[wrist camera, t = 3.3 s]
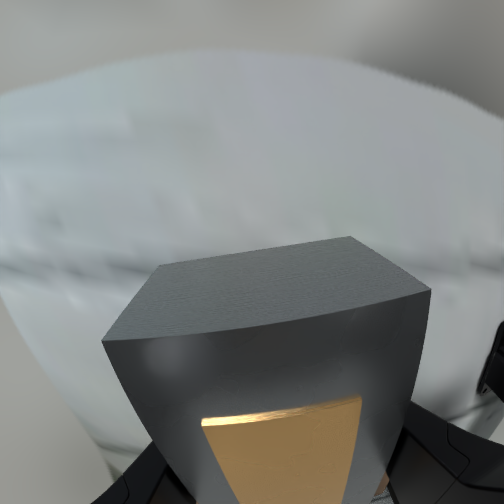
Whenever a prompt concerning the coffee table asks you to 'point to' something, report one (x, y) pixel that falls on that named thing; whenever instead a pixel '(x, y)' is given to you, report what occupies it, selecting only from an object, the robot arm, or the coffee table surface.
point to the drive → (274, 370)
